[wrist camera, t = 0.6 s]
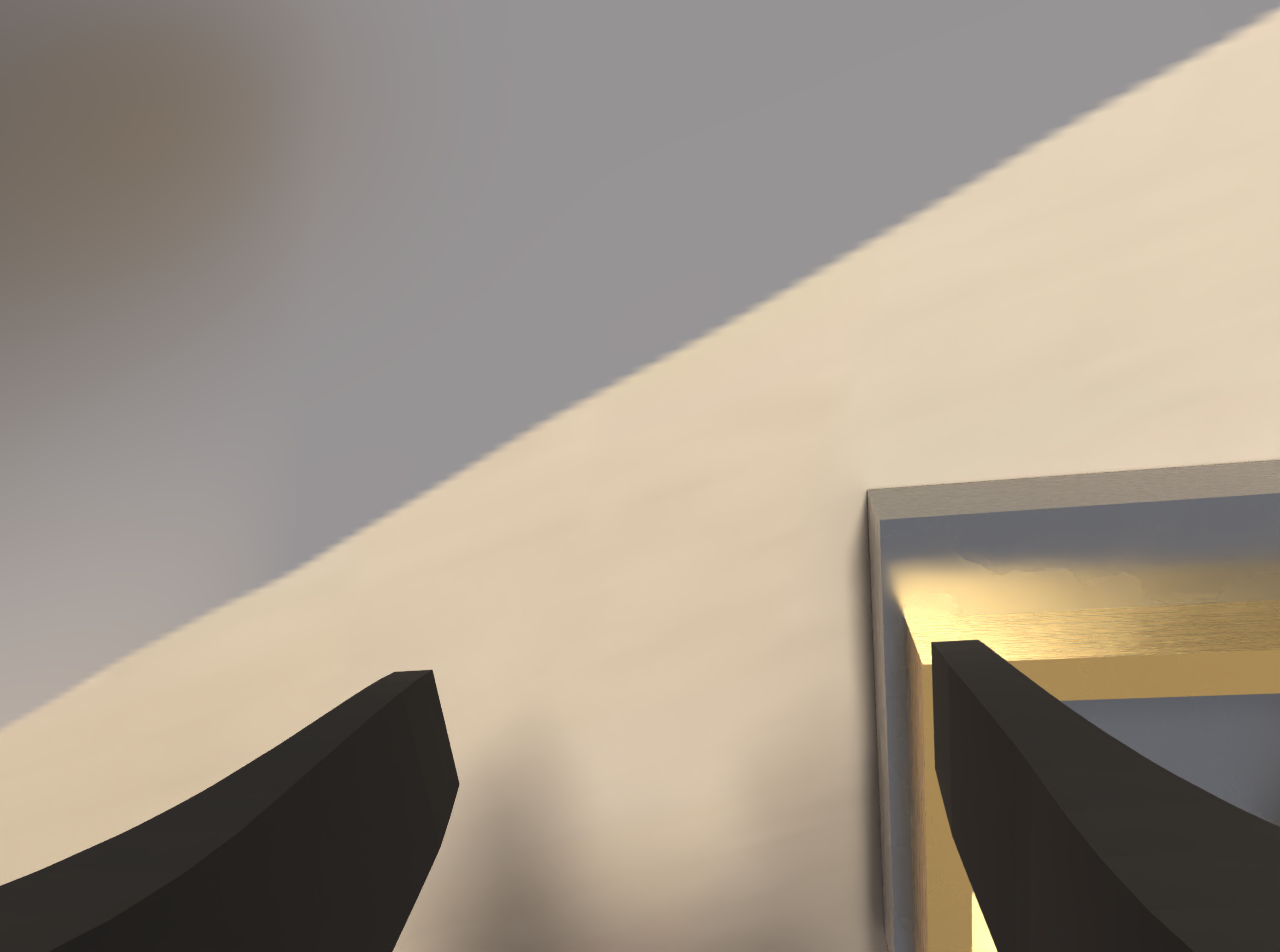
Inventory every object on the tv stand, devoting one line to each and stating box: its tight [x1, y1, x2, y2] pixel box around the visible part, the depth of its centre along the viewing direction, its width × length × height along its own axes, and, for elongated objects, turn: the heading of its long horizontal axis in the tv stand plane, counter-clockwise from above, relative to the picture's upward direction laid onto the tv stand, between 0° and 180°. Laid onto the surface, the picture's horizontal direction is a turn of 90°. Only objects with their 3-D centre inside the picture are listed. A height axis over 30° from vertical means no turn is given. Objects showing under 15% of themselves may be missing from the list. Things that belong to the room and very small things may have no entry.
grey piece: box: [867, 460, 1280, 952], centre depth 19 cm, size 14×16×5 cm
